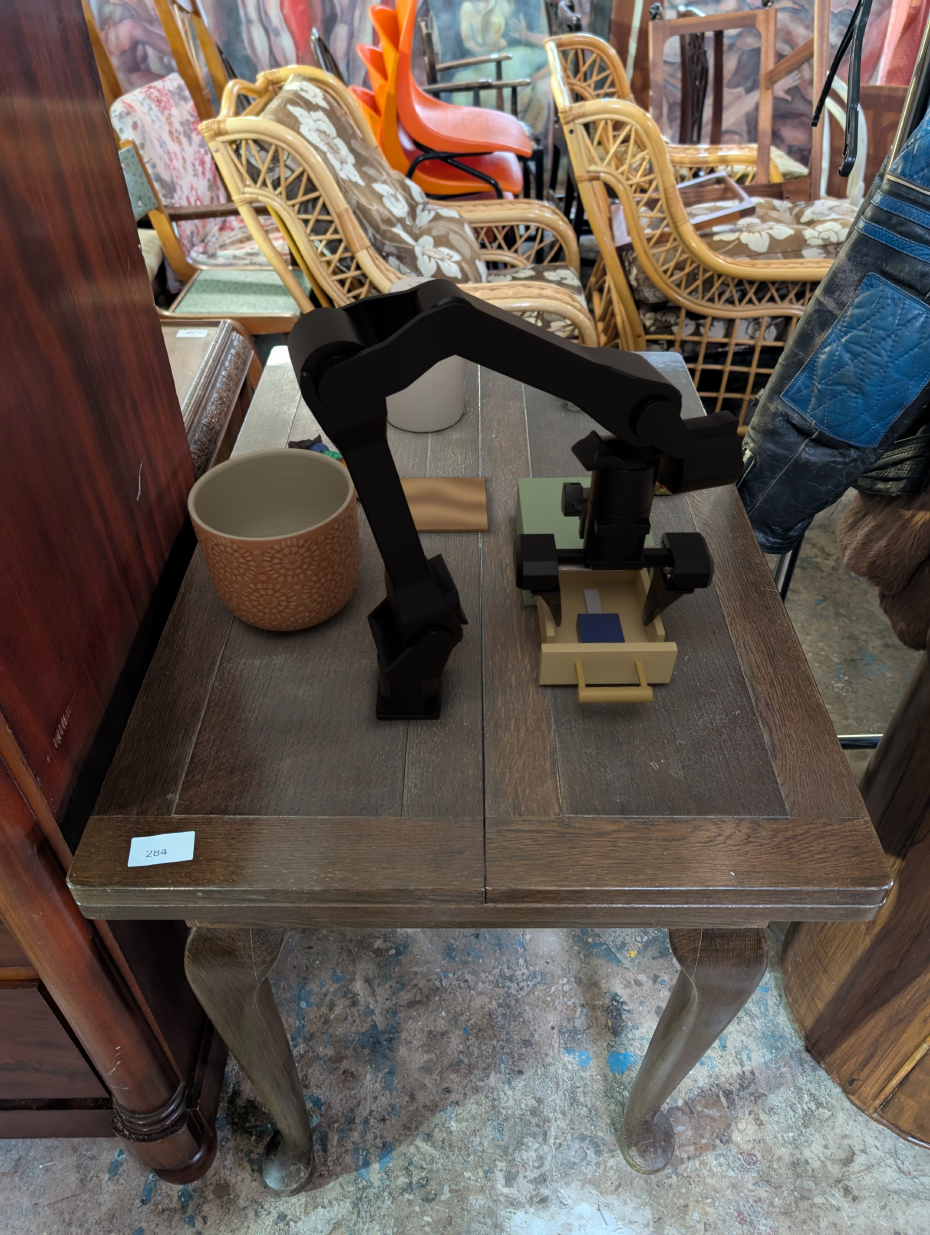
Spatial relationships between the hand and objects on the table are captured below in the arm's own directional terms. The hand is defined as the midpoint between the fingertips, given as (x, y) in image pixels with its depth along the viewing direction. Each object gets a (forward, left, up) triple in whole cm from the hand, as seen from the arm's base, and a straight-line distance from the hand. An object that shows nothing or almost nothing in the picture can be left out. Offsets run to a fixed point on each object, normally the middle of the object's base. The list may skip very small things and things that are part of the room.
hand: (601, 623), depth 83 cm
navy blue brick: (+2, 0, -2) cm, 3 cm away
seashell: (+34, -12, -5) cm, 37 cm away
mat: (+28, +17, -4) cm, 33 cm away
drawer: (0, 0, -4) cm, 4 cm away
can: (+53, +20, -5) cm, 57 cm away
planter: (+9, +34, -5) cm, 36 cm away
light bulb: (+55, -4, -5) cm, 56 cm away
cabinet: (+16, 0, -4) cm, 17 cm away
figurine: (+33, +32, -5) cm, 46 cm away
